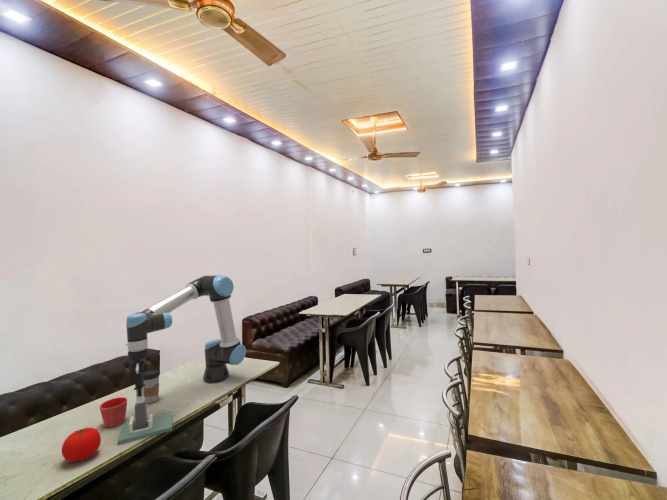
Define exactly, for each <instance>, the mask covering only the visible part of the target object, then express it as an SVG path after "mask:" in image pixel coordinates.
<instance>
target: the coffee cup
mask: <svg viewBox="0 0 667 500" xmlns="http://www.w3.org/2000/svg"><path fill="white" fill-rule="evenodd" d="M143 381H144V383H143V384H145V386H143V390H144V401H146V404H152V403H156V402H157V401H158V400H159V392H160V372H159V370H157V369H153V370H148V371H143Z"/></svg>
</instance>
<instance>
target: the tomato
mask: <svg viewBox="0 0 667 500" xmlns="http://www.w3.org/2000/svg"><path fill="white" fill-rule="evenodd" d="M101 442H102V437H101V433H100V432H99V430H98V429H96V428H94V427H88V426H86V427H85V428H81V429H78V430H75V431H73V432H71V434H69V435H68V436H67V437H66V439H64V441H63V443H62V445H61V446H62V447H61V454H62V457H63V459H64V460H66V461H68V462H71V463H72V462H77V461H83V460H85V459H88V458H90V457H91V456H93V455H94V454H95V453H97V452H98V450H99V448H100V446H101Z"/></svg>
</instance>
